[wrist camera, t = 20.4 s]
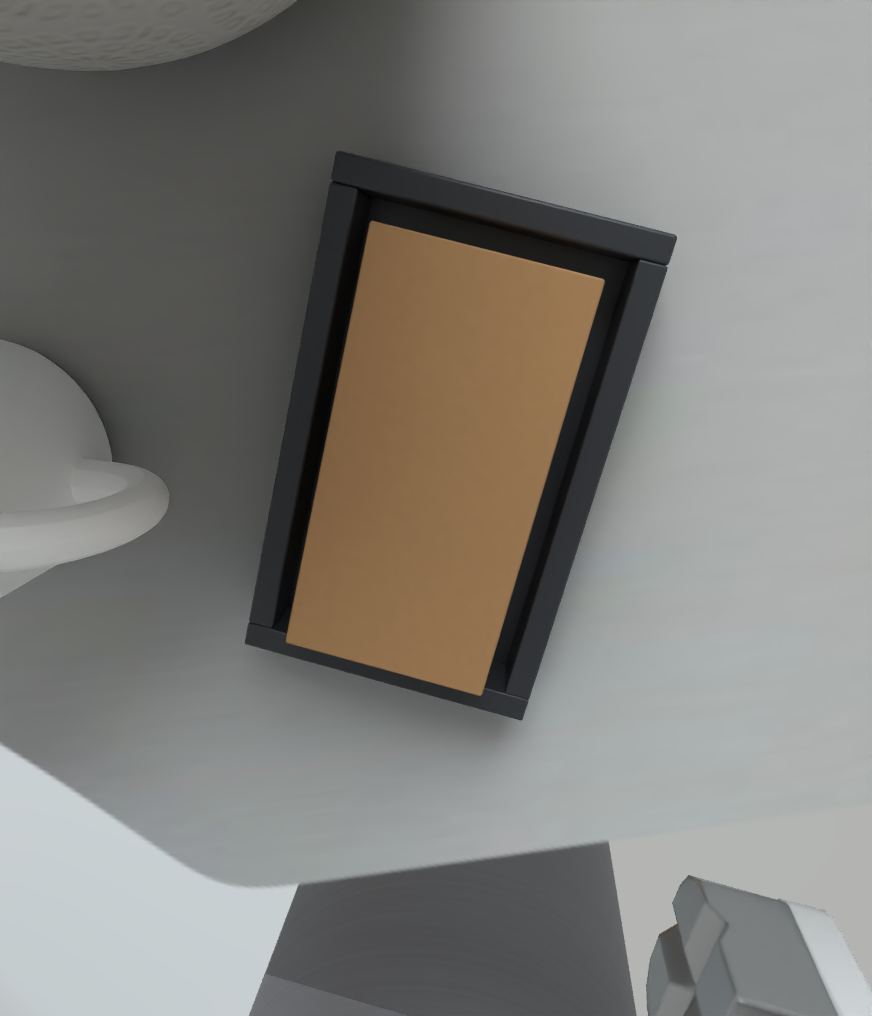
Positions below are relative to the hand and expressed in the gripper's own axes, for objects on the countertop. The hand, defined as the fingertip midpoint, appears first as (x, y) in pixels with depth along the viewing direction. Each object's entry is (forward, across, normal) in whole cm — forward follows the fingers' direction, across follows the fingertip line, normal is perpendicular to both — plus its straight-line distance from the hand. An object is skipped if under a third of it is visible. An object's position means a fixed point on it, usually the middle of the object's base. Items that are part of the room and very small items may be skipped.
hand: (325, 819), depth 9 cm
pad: (+16, 0, -1) cm, 16 cm away
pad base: (+17, +1, -1) cm, 17 cm away
